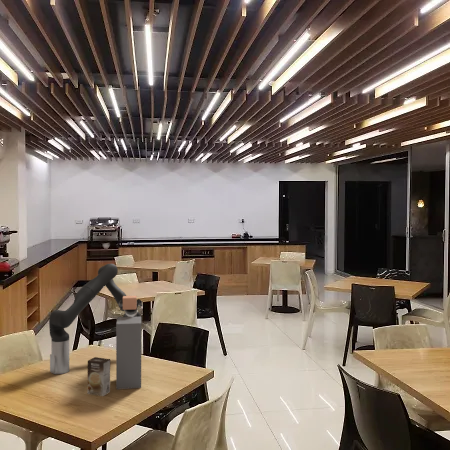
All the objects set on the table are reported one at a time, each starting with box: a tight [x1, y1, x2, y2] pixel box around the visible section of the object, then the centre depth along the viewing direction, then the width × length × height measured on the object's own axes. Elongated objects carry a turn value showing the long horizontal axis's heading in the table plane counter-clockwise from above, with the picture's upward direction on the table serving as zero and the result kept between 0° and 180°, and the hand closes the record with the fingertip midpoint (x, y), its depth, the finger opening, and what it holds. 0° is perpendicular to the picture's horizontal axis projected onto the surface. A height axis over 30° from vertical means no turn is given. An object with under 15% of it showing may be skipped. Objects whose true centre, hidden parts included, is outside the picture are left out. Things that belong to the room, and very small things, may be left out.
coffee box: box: [87, 356, 111, 397], centre depth 229 cm, size 9×6×16 cm
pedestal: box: [115, 316, 142, 390], centre depth 243 cm, size 16×12×32 cm
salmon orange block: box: [123, 295, 138, 310], centre depth 260 cm, size 19×7×6 cm, turn 10°
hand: (130, 298), depth 264 cm, fingers closed on salmon orange block, 4 cm apart
